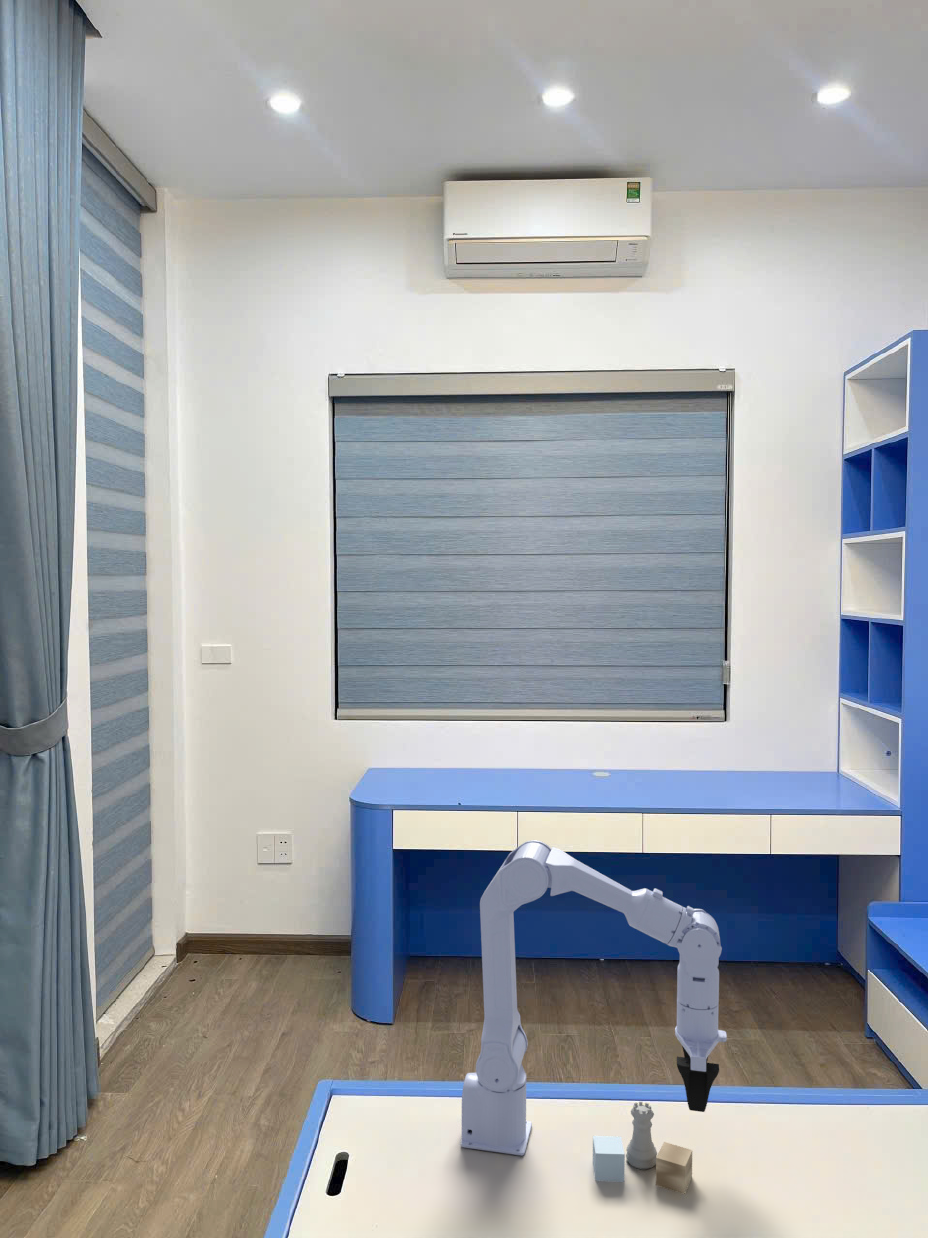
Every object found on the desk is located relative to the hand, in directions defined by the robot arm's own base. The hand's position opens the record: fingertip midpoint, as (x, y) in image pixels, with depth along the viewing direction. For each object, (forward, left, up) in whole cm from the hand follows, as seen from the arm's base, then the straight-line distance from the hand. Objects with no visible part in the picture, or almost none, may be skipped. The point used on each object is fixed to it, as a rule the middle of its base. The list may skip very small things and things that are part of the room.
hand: (696, 1094), depth 131 cm
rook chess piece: (-7, -1, -10) cm, 13 cm away
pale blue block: (-12, -5, -10) cm, 16 cm away
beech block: (-3, -5, -10) cm, 12 cm away
